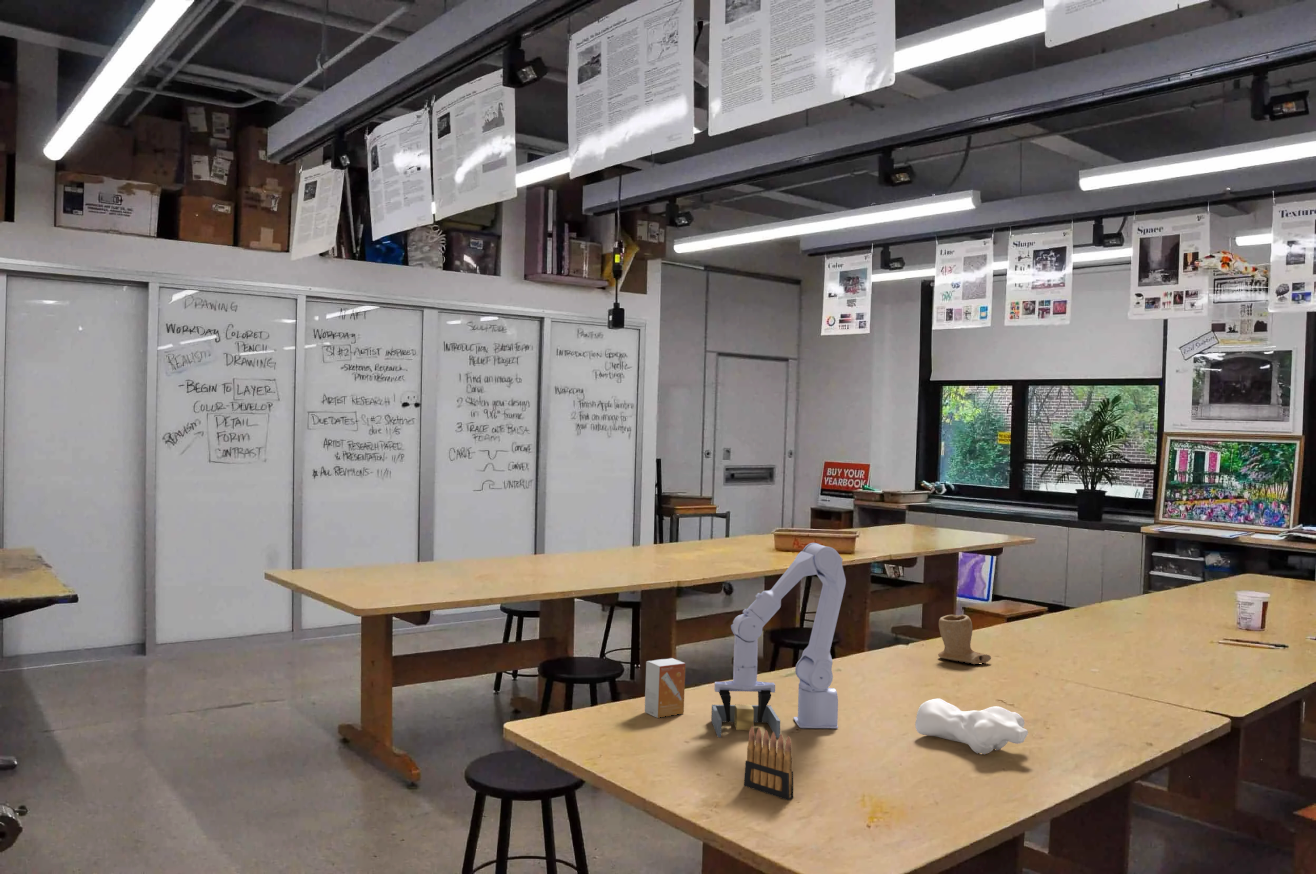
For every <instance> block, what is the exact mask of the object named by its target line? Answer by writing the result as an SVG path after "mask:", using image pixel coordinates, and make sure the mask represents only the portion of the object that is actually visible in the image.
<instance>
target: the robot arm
mask: <svg viewBox="0 0 1316 874" xmlns="http://www.w3.org/2000/svg"><path fill="white" fill-rule="evenodd" d="M815 575H816V576H817V577H818V579H819V580H820V582H821V583H822V587H821V592H820V595H819V599H818V602H817V603H818V604H817V608H816V612H815V617H814V621H813V625H812V629H811V633H810V637H809V642H808V645H807V646H806V647H805V648H804V650H803V651H802V654H801V657H800V659H799V660H798V661H797V663H796V664H795V670H794V671H795V675H796V677H797V678H798V680H799V681H798V682H799V683H798V692H797V693H798V695H797V697H798V699H797V700H798V701H797V716H793V720H794V721H795V723H796V725H797V726H798V727H799V728H800V729H838V728H839V725H838V722H839V721H838V718H839V711H838V710H839V697H838V692H837V689H836V688H834V687H831V684H832V682H833V678H834V677H833V670H832V668H833V667H832V666H833V663H834V662H833V659H832V655H831V649H832V648H831V647H832V643H833V639H834V636H835V631H836V627H837V622H838V618H839V613H840V610H841V605H842V601H843V598H844V597H843V596H844V593H845V588H846V583H847V580H846V579H847V578H846V575H845V571H844V566H843V558H842V556H841V555H840V554H839V552H838V551H837V550H836V549H835V548H833V546H832V547H831V546H825V545H822V544H820V543H818V542H817V543H816V542H810V543H808V544H807V545H805V547H803V549H802V550H801V551H800V552H799V553H798V554H797V555H796V557H795V558H794V560H793V561H792V562H791V564H790V565H789V566H788V567H787V569H786V570H785V572H784V573H783V574H782V575H781V576H780V578H779V579H778V580H777V581H776V582H775V584H774V585H773V586H772V588H771V589H769V590H763V591H762V592H761V593H760V592H757V593H756V594H755V595H754V596H755V600H754V601H753V602H752V603H751V604H750V605H748V608H744V609H743V610H742V614H739V615H737V616H735V618H734V619H733V621H732V624H731V625H730V629H731V632H732V634H733V635H734V641H733V642H734V644H733V673H732V676H733V677H732V680H728V681H714V688H713V689H714V692H716V693H719V696H720V698H721V701H722V705H724V709H725V714H726V721H727V722H726V723H731V722H730V705H731V699H732V696H731V692H752V693H753V692H756V693H757V698H758V700H757V705H758V715H757V720H758V722H757V723H759V724H760V723H763V722H762V718H763V714H764V711H765V708H766V706H767V705H768V704H769V702H770V700H771V698H772V693H773V694H774V693H776V684H775V682H765V681H758V656H759V655H758V651H759V650H758V649H759V648H758V646H759V645H758V644H759V643H758V641H759V638H761V636H762V634H763V629H764V626H765V625H766V624H767V623H769V621H770V620H771V618H772V617H774V616H775V614H776V613H777V612H778V611H779V610H780V608H781V606H782V599H783V598H784V597H785V596H786V595H787V594H788V593H789V592H790V591H791V590H792V589H793V588H794V587H795V586H796V585H797V584H798V583H799V582H800V581H801V580H802V579H803V578H804V577H808V576H810V577H811V576H815Z"/></svg>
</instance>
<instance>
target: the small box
mask: <svg viewBox="0 0 1316 874" xmlns="http://www.w3.org/2000/svg"><path fill="white" fill-rule="evenodd" d="M685 684H686V662H683V661H681V660H678V659H675V658H673V657H669V658H661V659H654V660H647V661H645V686H644V687H645V692H644V713H645V714H648V715H650V716H653V717H654V718H657V719H660V717H661V718H665V716H666V717H672V716H671V715H674V716H678V715H677V714H682V715H684V714H685V713H684V712H685V710H684V709H685V691H686V690H685V687H686V685H685Z"/></svg>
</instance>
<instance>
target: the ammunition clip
mask: <svg viewBox="0 0 1316 874" xmlns="http://www.w3.org/2000/svg"><path fill="white" fill-rule="evenodd" d="M784 745H785V747H784ZM744 764H745V766H744V781H743V786H744V787H746V786H747V787H746V788H749V787H750V789H752V790H756V791H759V792H762V793H765V794H768V795H771V796H775V797H778V798H780V799H783V800H787V801H789V800H791V799H793V798H794V771H793V756H792V740H791V737H790V736H789V735H788V736H787V737H786V742H785V743H784V737H783V734H782V733H780V736H779V738H778V740H777V739H776V736H775V733H774V732H773V731H772V732H771V736H770V739H769V732H768V730H767V729H766V730H764V733H763V737H762V731H761V729H760V727H758V728H757V731H756V736H755V729H754V725H753V726H751V728H750V730H749V733H748V741H747V748H746V760H745V763H744Z"/></svg>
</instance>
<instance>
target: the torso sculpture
mask: <svg viewBox="0 0 1316 874" xmlns="http://www.w3.org/2000/svg"><path fill="white" fill-rule="evenodd" d="M915 718H916V719H915V724H914V725H915V730H916V731H917V733H918V734H919V735H923V736H930V737H937V738H940V739H945V740H949V741H953V742H958V743H963V744H966V745H968V746H969V747H970V749H971V750H972V752H974V753H976V754H978V753H982V754H984V755H987V754H989V753H991V752H992V751H994V750H993V749H996V750H995V751H1000V750H1001V749H1003V748H1004V747H1006V745H1007V744H1008V742H1010V743H1012V744H1017V745H1018V744H1022V743H1024V742H1025V740H1026V738H1027V736H1028V733H1029V731H1028V729H1026V728H1024V726H1025V719H1024V718H1023V716H1021V714H1019V713H1018V712H1015V711H1010V710H1009V709H1006V708H1004V707H1002V706H998V705H997V706H996V705H995V706H994V705H993V706H990V707H987V708H984V709H982V710H976V709H975V710H967V711H966V710H965V711H963V710H961V709H960V708H959V707H958V706H956V705H954V704H952V703H949V702H947V701H945V700H944V699H942V698H933V699H929V700H926V701H924V702H923V703H921V704H920V706H919V708H918V710H917V713H916V716H915ZM986 753H987V754H986ZM982 754H981V755H982Z"/></svg>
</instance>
